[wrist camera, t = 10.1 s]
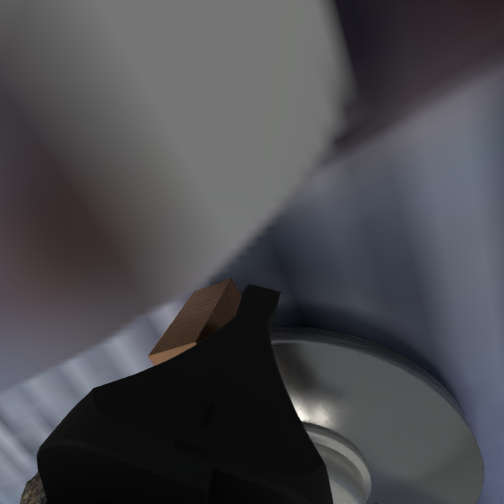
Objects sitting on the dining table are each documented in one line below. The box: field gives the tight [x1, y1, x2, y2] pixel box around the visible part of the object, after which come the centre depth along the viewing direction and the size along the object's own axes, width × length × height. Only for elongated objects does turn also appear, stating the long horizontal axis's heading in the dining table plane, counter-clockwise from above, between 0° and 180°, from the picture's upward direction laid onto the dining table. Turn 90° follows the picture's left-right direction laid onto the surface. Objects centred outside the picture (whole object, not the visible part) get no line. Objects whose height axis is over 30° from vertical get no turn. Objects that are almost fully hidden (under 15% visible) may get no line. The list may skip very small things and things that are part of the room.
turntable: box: [148, 278, 484, 504], centre depth 14 cm, size 15×18×4 cm
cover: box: [302, 423, 371, 504], centre depth 14 cm, size 6×6×3 cm
